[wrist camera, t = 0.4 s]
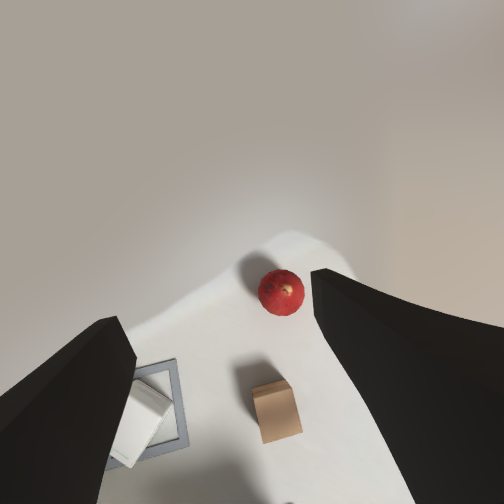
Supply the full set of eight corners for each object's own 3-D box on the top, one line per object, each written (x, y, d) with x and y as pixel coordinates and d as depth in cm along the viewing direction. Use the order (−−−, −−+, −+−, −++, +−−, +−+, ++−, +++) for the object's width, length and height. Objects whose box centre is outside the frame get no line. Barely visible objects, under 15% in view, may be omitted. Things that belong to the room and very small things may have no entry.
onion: (250, 306, 35) (253, 303, 27) (264, 268, 36) (271, 255, 29) (289, 322, 35) (304, 323, 27) (302, 283, 36) (320, 274, 28)
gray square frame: (189, 445, 30) (188, 446, 30) (103, 470, 29) (102, 471, 29) (176, 359, 33) (175, 359, 33) (96, 379, 32) (95, 379, 32)
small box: (108, 421, 31) (85, 440, 26) (137, 377, 32) (119, 387, 27) (147, 447, 30) (130, 472, 26) (174, 401, 32) (163, 416, 27)
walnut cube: (294, 416, 32) (303, 432, 28) (259, 426, 31) (263, 444, 27) (284, 378, 33) (291, 388, 29) (251, 388, 32) (253, 398, 28)
